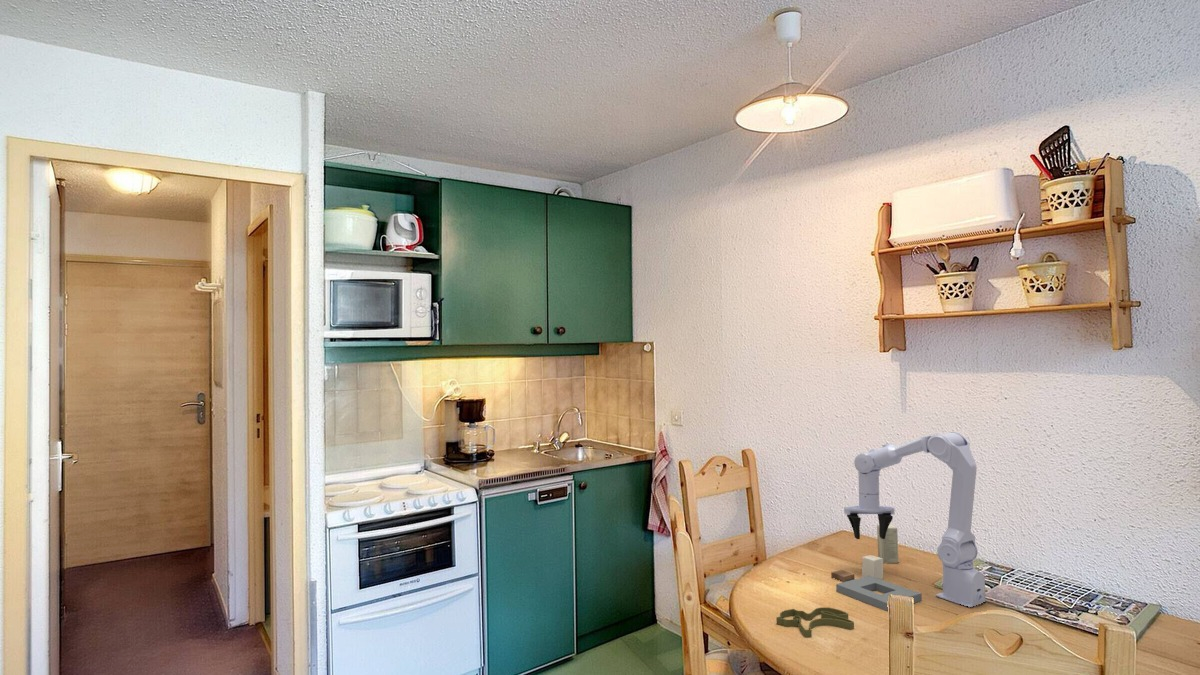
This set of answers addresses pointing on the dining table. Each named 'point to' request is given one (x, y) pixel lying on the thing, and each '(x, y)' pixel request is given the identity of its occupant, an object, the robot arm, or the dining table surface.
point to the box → (888, 545)
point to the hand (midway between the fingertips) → (869, 538)
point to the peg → (872, 566)
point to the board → (866, 585)
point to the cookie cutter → (827, 618)
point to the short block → (842, 575)
